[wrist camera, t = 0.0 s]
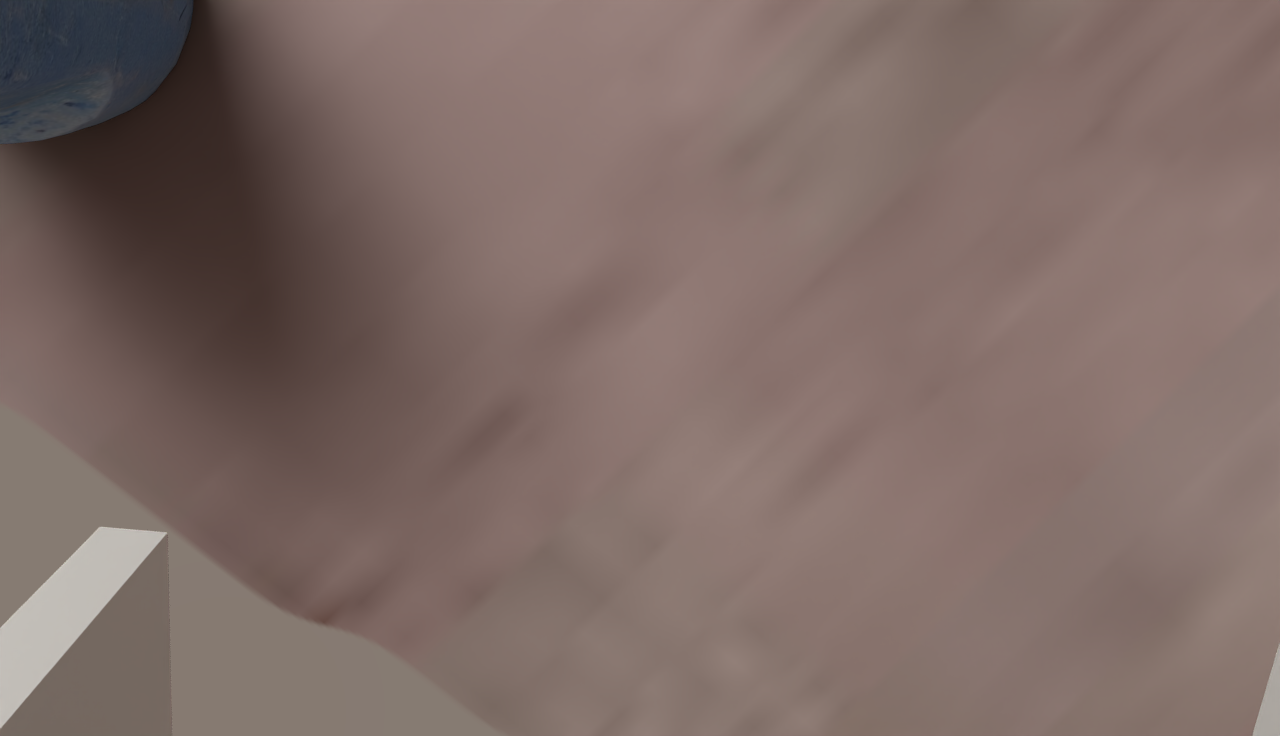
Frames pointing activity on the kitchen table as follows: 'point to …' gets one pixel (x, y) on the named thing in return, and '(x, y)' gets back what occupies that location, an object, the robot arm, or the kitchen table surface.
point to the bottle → (82, 61)
